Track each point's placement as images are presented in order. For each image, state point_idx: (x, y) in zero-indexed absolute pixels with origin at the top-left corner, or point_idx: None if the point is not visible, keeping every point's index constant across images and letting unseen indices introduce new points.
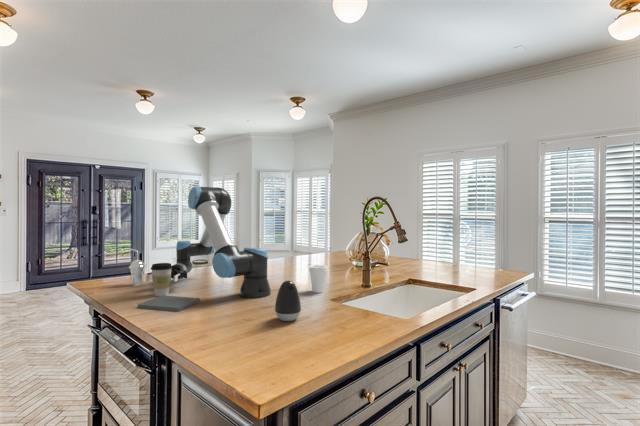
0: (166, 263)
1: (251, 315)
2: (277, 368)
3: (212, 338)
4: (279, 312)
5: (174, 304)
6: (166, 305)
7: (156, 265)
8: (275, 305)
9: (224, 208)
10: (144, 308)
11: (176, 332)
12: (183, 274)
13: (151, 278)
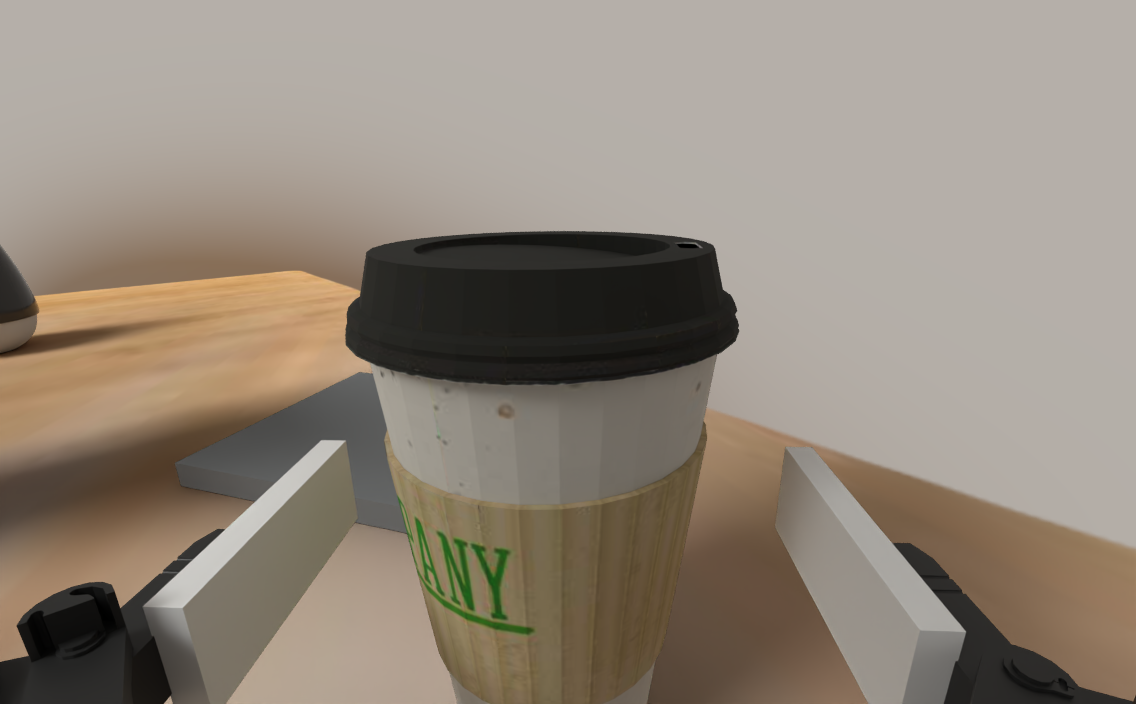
0: (473, 263)
1: (75, 367)
2: (236, 283)
3: (297, 310)
4: (38, 307)
5: (378, 395)
6: None
7: (587, 233)
8: (22, 296)
9: None
10: None
11: None
12: (25, 692)
13: (843, 628)
